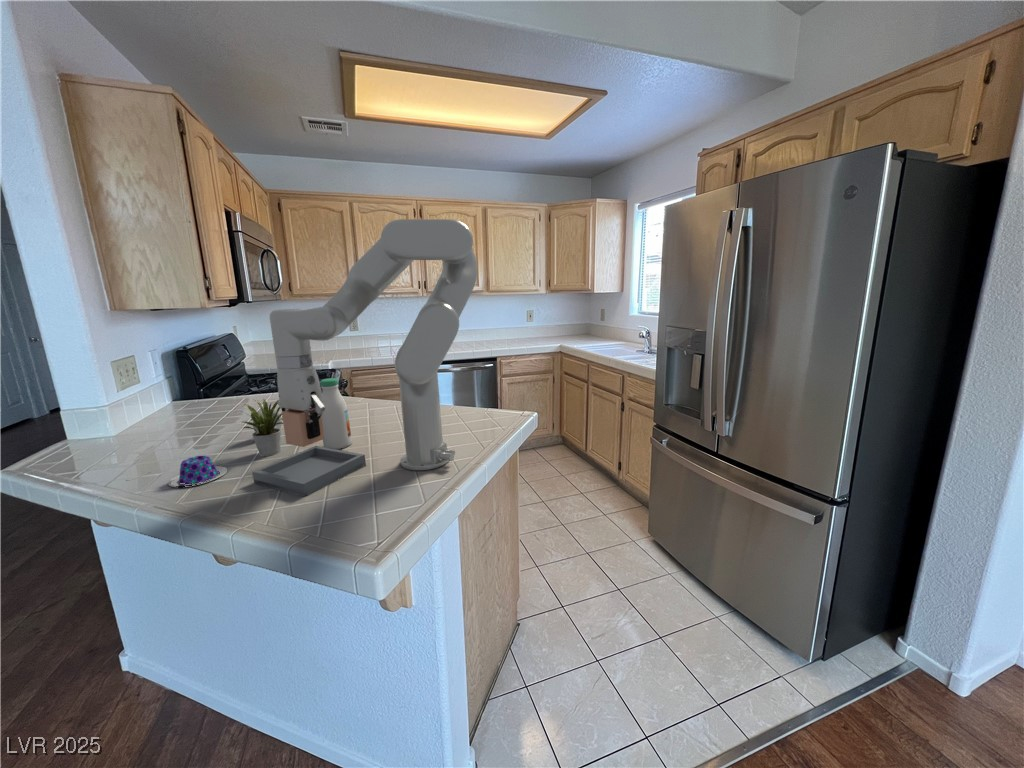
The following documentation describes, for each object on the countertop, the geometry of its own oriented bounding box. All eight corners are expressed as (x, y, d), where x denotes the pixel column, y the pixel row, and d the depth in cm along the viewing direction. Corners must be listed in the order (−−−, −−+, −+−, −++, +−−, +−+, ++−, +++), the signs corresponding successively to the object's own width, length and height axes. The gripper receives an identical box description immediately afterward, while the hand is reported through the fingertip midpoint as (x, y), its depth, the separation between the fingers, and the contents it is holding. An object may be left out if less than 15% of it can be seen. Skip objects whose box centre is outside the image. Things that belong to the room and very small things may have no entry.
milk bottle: (345, 450, 120) (336, 381, 116) (319, 451, 120) (308, 382, 116) (356, 440, 128) (347, 376, 123) (331, 441, 128) (321, 377, 124)
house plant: (308, 440, 129) (301, 389, 126) (294, 457, 116) (284, 400, 112) (258, 445, 127) (249, 393, 123) (237, 463, 114) (226, 405, 110)
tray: (366, 465, 109) (364, 454, 108) (305, 496, 93) (303, 484, 92) (317, 456, 117) (316, 445, 116) (254, 483, 101) (252, 471, 100)
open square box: (324, 438, 104) (320, 407, 102) (303, 447, 99) (298, 414, 97) (307, 435, 107) (303, 405, 105) (286, 443, 102) (281, 411, 100)
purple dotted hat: (227, 481, 104) (223, 461, 103) (165, 494, 98) (160, 473, 96) (228, 465, 114) (224, 446, 112) (172, 476, 107) (167, 457, 106)
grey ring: (262, 442, 129) (256, 411, 127) (253, 442, 130) (247, 411, 128) (286, 432, 139) (281, 402, 137) (278, 431, 140) (273, 402, 138)
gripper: (333, 361, 98) (342, 435, 102) (284, 358, 106) (294, 426, 110) (305, 367, 92) (316, 445, 96) (255, 363, 99) (267, 435, 103)
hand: (304, 434), depth 103 cm, fingers closed on open square box, 6 cm apart
